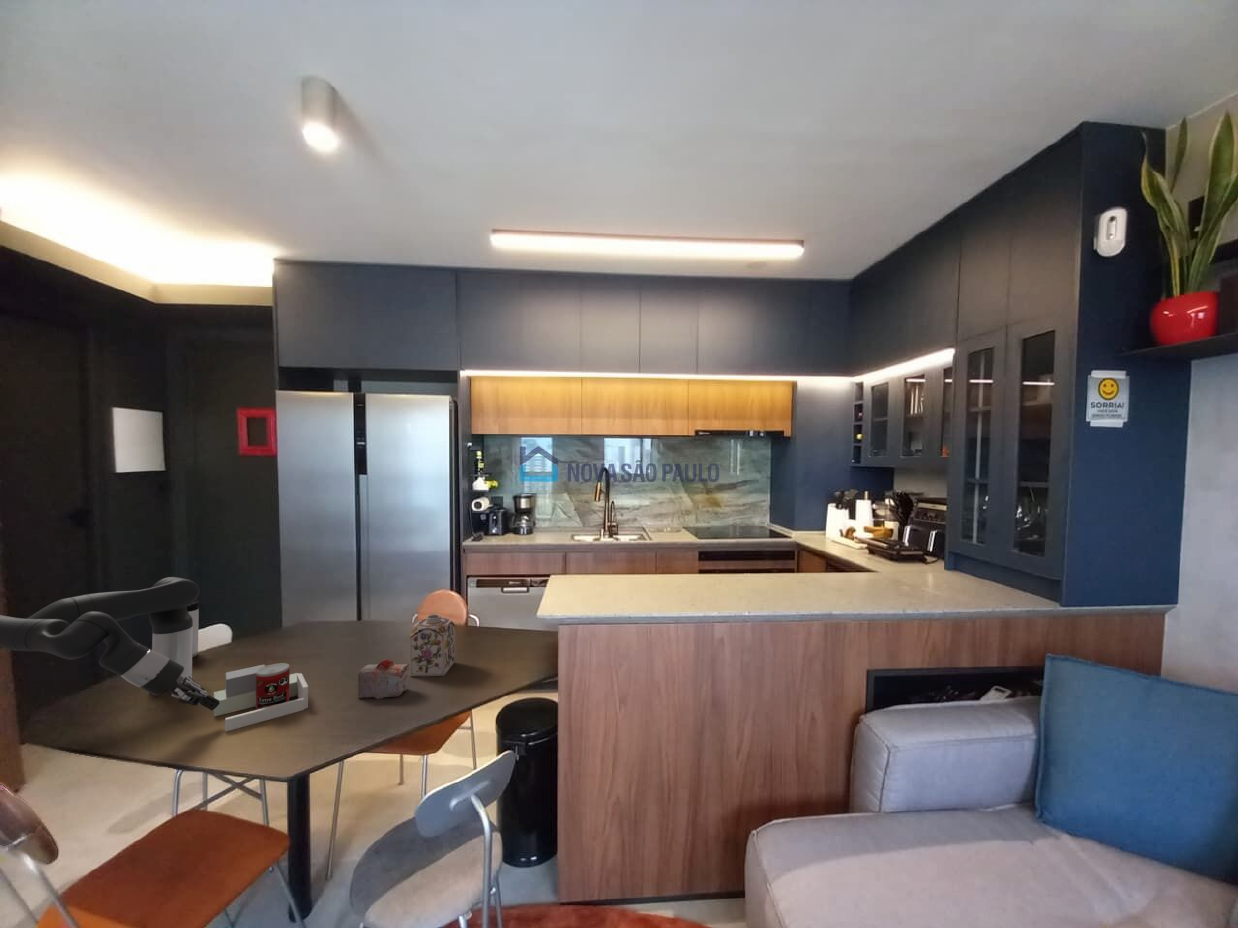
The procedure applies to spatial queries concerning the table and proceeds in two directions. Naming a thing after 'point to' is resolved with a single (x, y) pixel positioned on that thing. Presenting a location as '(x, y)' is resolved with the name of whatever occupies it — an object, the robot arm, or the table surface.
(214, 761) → the table surface
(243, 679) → the white open tray
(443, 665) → the decorative jar
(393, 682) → the food item
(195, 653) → the travel mug
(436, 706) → the table surface
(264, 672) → the canned food
